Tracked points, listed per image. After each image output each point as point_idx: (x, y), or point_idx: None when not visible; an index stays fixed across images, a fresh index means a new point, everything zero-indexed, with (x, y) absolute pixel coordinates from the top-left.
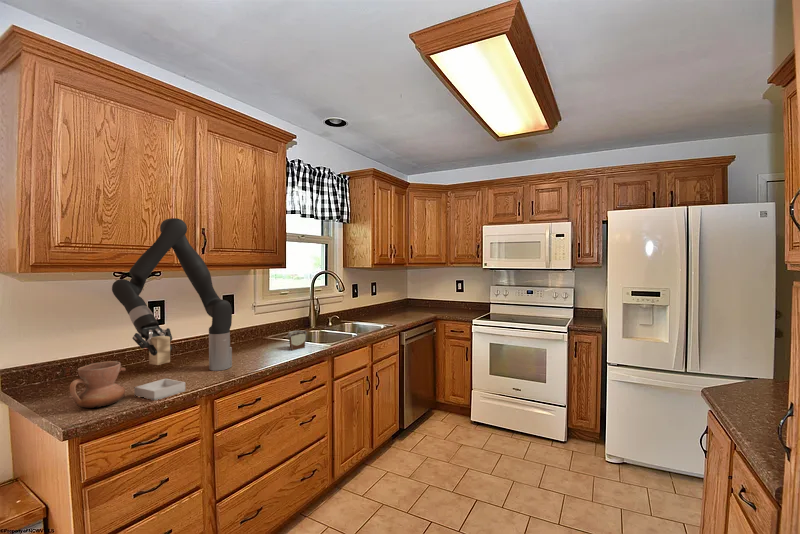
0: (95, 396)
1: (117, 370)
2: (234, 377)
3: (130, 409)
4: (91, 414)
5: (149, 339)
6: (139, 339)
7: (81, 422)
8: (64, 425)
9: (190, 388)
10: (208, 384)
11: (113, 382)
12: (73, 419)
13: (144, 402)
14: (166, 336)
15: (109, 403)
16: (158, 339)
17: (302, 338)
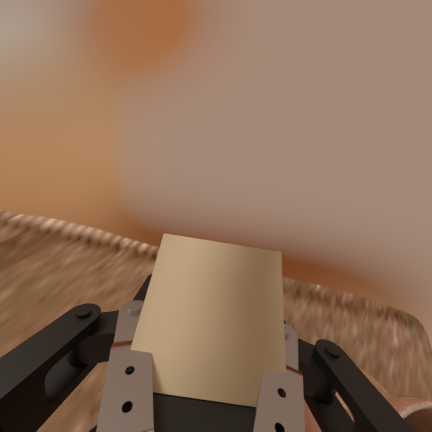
0: (387, 394)
1: None
2: (29, 229)
3: (304, 288)
4: (370, 355)
5: (293, 370)
6: (406, 424)
7: (395, 321)
8: (425, 343)
9: (142, 274)
10: (101, 253)
11: (348, 412)
12: (407, 365)
13: None
14: (166, 269)
15: None
16: (268, 253)
17: None
